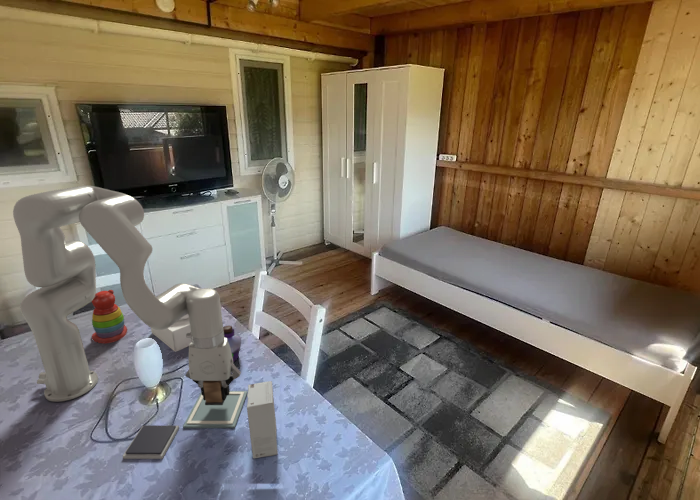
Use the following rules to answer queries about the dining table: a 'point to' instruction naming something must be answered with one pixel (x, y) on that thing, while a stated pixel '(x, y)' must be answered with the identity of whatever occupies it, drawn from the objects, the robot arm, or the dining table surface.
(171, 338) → the butter dish
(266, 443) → the skincare box
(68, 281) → the robot arm
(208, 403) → the stamp
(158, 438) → the ink pad
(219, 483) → the dining table surface
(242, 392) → the board
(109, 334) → the stacking bear
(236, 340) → the potion bottle
